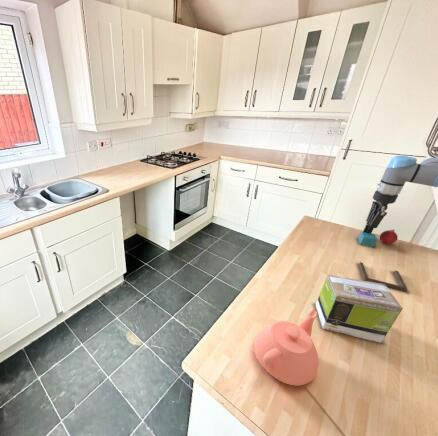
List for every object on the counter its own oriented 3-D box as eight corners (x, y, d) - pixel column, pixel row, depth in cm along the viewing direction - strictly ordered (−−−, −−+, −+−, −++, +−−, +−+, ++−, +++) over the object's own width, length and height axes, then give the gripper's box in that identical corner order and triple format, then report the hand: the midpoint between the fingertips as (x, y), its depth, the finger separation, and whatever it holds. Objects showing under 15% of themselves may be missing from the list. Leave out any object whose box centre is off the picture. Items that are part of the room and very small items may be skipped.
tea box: (366, 317, 79) (387, 283, 72) (380, 344, 70) (405, 309, 63) (313, 305, 83) (328, 272, 76) (321, 330, 75) (337, 295, 68)
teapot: (280, 321, 78) (290, 293, 72) (332, 359, 67) (348, 330, 61) (235, 358, 68) (242, 329, 62) (287, 410, 57) (302, 381, 51)
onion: (381, 246, 112) (389, 231, 109) (374, 239, 117) (381, 225, 114) (396, 248, 111) (404, 233, 107) (388, 241, 116) (396, 226, 112)
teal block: (357, 240, 117) (361, 231, 115) (370, 243, 115) (375, 234, 113) (359, 245, 113) (363, 236, 111) (373, 248, 111) (377, 239, 109)
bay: (357, 265, 101) (359, 262, 100) (395, 274, 96) (398, 271, 95) (363, 282, 93) (365, 278, 92) (405, 293, 87) (407, 289, 86)
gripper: (372, 185, 112) (352, 229, 123) (379, 196, 102) (357, 242, 113) (394, 188, 108) (371, 232, 120) (403, 199, 99) (377, 246, 110)
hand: (364, 237), depth 117 cm, fingers closed
